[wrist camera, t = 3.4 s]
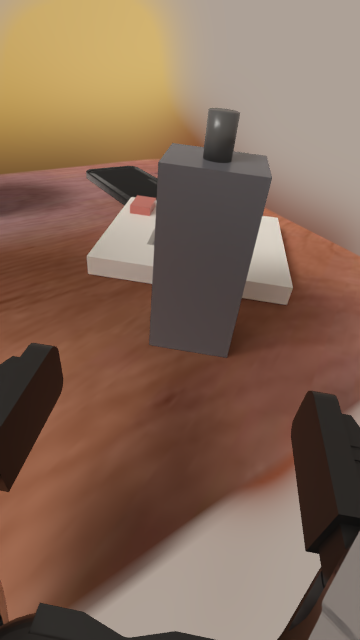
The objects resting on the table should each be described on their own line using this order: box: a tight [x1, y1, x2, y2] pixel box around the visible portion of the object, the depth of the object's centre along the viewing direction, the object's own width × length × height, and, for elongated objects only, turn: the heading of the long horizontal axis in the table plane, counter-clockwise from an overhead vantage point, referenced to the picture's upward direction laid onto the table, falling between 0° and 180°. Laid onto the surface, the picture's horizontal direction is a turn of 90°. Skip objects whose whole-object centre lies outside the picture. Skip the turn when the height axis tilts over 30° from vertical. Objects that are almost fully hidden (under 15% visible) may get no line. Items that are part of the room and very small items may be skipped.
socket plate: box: [87, 195, 293, 305], centre depth 32 cm, size 16×14×2 cm
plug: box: [149, 108, 272, 358], centre depth 19 cm, size 5×4×13 cm
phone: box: [86, 166, 158, 205], centre depth 44 cm, size 8×1×15 cm
